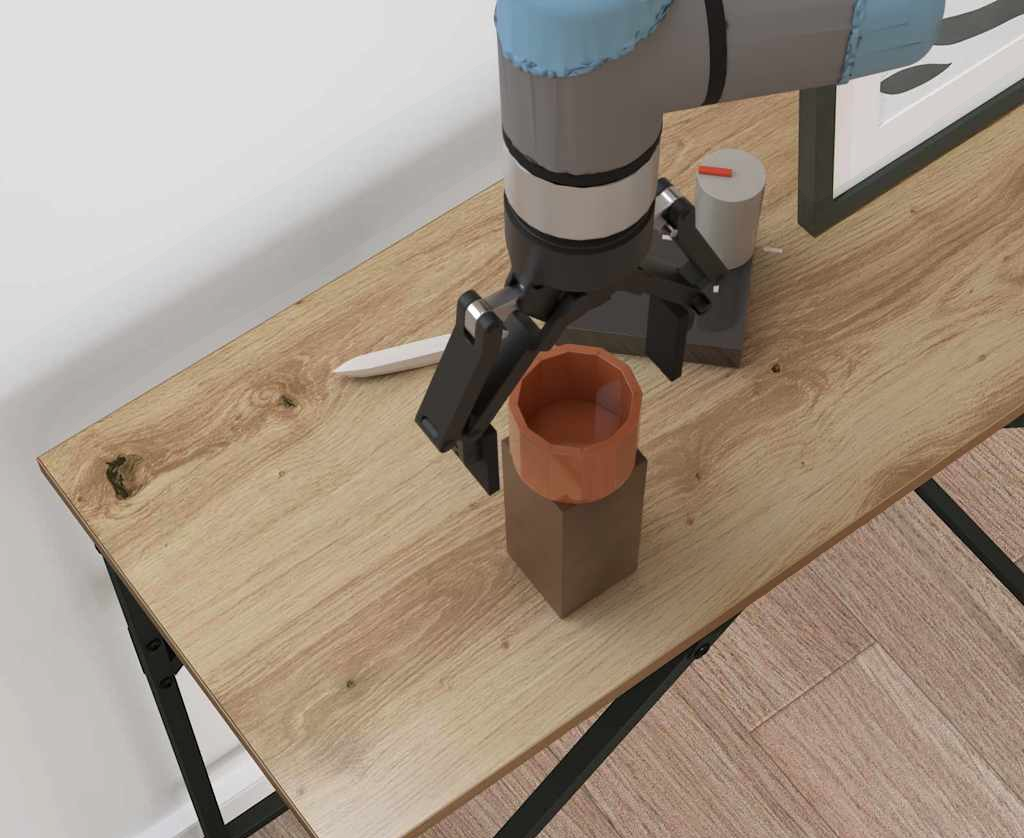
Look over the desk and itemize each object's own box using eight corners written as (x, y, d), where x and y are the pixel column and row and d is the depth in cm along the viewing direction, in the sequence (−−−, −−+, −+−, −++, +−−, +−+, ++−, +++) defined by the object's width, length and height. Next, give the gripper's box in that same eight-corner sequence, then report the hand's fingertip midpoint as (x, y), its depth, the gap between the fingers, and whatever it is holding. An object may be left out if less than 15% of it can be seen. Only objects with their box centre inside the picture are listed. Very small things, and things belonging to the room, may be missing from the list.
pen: (331, 373, 122) (329, 360, 120) (510, 329, 124) (509, 316, 122) (336, 390, 121) (334, 377, 120) (515, 345, 123) (515, 333, 121)
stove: (783, 226, 128) (787, 204, 126) (766, 372, 121) (771, 352, 119) (581, 202, 129) (582, 180, 127) (554, 345, 123) (554, 325, 120)
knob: (757, 222, 125) (770, 149, 118) (751, 274, 122) (763, 202, 115) (693, 215, 125) (701, 142, 118) (685, 266, 123) (694, 194, 116)
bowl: (644, 405, 102) (649, 353, 97) (627, 512, 98) (632, 463, 93) (522, 390, 103) (521, 337, 98) (501, 495, 99) (499, 445, 94)
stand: (581, 503, 116) (584, 388, 103) (637, 569, 113) (648, 459, 100) (506, 551, 114) (500, 440, 101) (561, 619, 112) (562, 514, 98)
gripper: (729, 31, 84) (696, 281, 102) (323, 257, 77) (367, 481, 96) (824, 119, 81) (773, 360, 99) (410, 362, 74) (438, 572, 93)
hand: (573, 420), depth 98 cm, fingers open, 13 cm apart
